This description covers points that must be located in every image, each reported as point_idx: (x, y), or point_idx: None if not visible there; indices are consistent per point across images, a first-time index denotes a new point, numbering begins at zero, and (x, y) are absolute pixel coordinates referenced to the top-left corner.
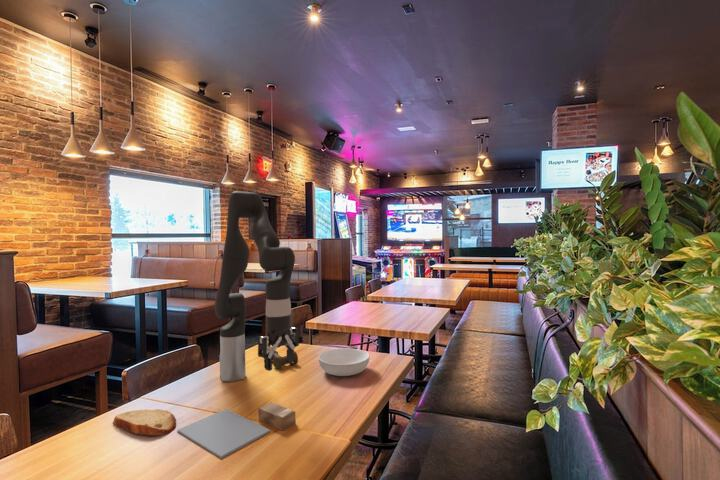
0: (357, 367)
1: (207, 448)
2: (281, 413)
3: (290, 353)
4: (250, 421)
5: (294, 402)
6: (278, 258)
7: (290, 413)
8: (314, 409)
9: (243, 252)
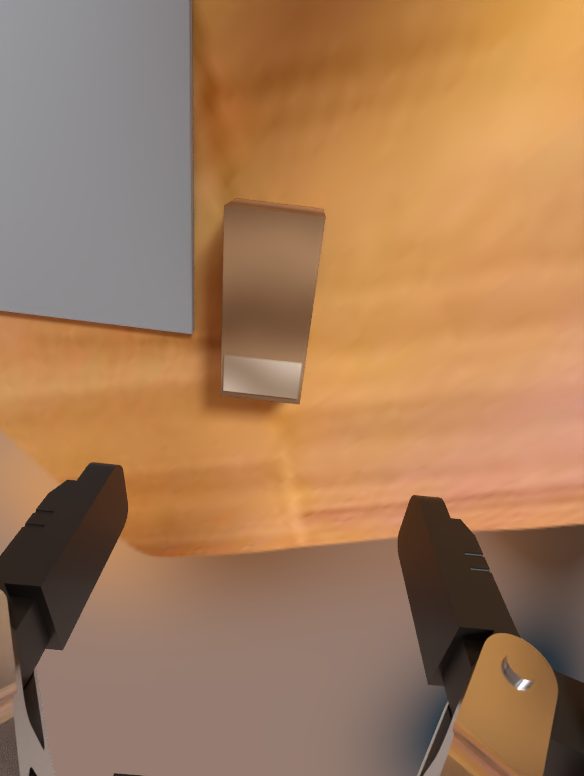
0: None
1: None
2: (245, 368)
3: (423, 629)
4: (183, 188)
5: (487, 235)
6: None
7: (273, 397)
8: (445, 371)
9: None
